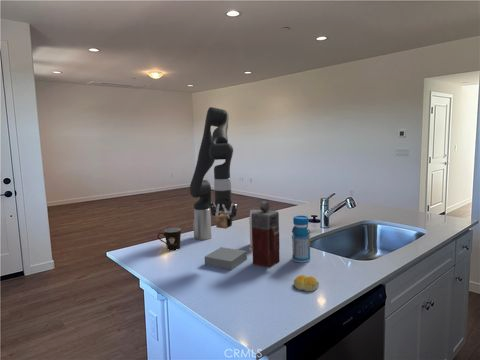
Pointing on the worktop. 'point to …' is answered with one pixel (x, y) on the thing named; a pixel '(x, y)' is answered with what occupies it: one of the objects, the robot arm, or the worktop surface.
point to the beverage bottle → (301, 239)
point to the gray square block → (226, 258)
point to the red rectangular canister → (265, 236)
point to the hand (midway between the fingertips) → (224, 225)
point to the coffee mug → (172, 238)
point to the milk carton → (251, 225)
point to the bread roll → (306, 283)
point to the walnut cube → (221, 221)
